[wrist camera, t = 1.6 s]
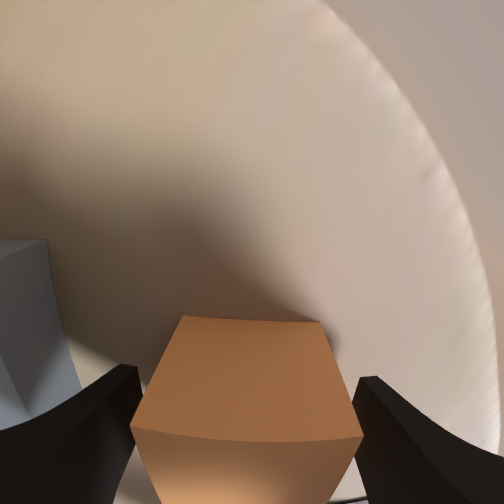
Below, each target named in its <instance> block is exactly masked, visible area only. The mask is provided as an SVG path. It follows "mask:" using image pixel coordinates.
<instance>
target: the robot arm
mask: <svg viewBox="0 0 504 504" xmlns="http://www.w3.org/2000/svg"><path fill="white" fill-rule="evenodd" d="M142 397H143V393H142V388H141V384H140V379H139V374H138V369H137V367H136V366H130V365H125V364H119V365H118V366H116V367H115V368H113V369H112V370H110V371H109V372H107V373H106V374H105V375H103V376H102V377H100V378H99V379H98V380H96V381H95V382H93V383H92V384H90V385H89V386H87V387H86V388H85V389H83V390H82V391H80V392H79V393H77V394H76V395H74V396H73V397H71V398H69V399H68V400H66V401H64V402H63V403H61V404H59V405H58V406H56V407H54V408H53V409H51V410H49V411H47V412H45V413H43V414H41V415H39V416H37V417H35V418H33V419H30V420H28V421H26V422H23V423H21V424H18V425H15V426H12V427H9V428H6V429H3V430H0V504H113V501H114V497H115V494H116V490H117V487H118V485H119V482H120V479H121V477H122V475H123V472H124V470H125V468H126V465H127V463H128V461H129V458H130V456H131V454H132V451H133V449H134V447H135V444H136V442H135V439H134V437H133V434H132V431H131V428H130V423H131V421H132V419H133V417H134V415H135V412H136V410H137V408H138V406H139V404H140V402H141V400H142ZM352 405H353V408H354V410H355V413H356V416H357V418H358V421H359V424H360V427H361V429H362V432H363V435H364V437H363V439H362V441H361V443H360V445H359V447H358V449H357V451H356V453H355V455H354V457H355V460H356V463H357V466H358V469H359V472H360V475H361V479H362V482H363V485H364V488H365V491H366V495H367V499H368V500H364V501H359V502H353V503H347V504H504V457H502V456H499V455H495V454H493V453H490V452H488V451H485V450H483V449H480V448H478V447H476V446H474V445H472V444H470V443H468V442H466V441H464V440H462V439H460V438H458V437H457V436H455V435H453V434H451V433H450V432H448V431H447V430H445V429H444V428H442V427H441V426H439V425H438V424H436V423H435V422H433V421H432V420H431V419H429V418H428V417H427V416H425V415H424V414H423V413H421V412H420V411H419V410H418V409H416V408H415V407H414V406H413V405H411V404H410V403H409V402H408V401H406V400H405V399H404V398H403V397H402V396H401V395H399V394H398V393H397V392H396V391H395V390H393V389H392V388H391V387H390V386H389V385H388V384H386V383H385V382H384V381H383V380H381V379H380V378H379V377H378V376H369V377H360V379H359V382H358V385H357V388H356V391H355V395H354V398H353V400H352Z"/></svg>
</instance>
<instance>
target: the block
mask: <svg viewBox="0 0 504 504" xmlns="http://www.w3.org/2000/svg"><path fill="white" fill-rule="evenodd" d="M130 428H131V431H132V434H133V437H134V439H135V442H136V445H137V447H138V450H139V453H140V455H141V458H142V460H143V463H144V465H145V468H146V470H147V472H148V475H149V477H150V479H151V482H152V484H153V486H154V488H155V490H156V492H157V495H158V497H159V499H160V501H161V503H162V504H327V503H328V501H329V499H330V498H331V496H332V495H333V493H334V491H335V490H336V488H337V486H338V485H339V483H340V481H341V479H342V478H343V476H344V474H345V472H346V470H347V468H348V467H349V465H350V463H351V461H352V459H353V457H354V455H355V453H356V451H357V449H358V447H359V445H360V443H361V441H362V439H363V437H364V435H363V432H362V429H361V427H360V424H359V421H358V418H357V416H356V413H355V410H354V408H353V405H352V402H351V400H350V397H349V394H348V392H347V389H346V386H345V384H344V381H343V379H342V376H341V373H340V371H339V368H338V366H337V363H336V361H335V358H334V356H333V353H332V351H331V348H330V346H329V343H328V341H327V338H326V336H325V333H324V331H323V328H322V326H321V323H320V322H286V321H258V320H238V319H222V318H208V317H195V316H182V318H181V320H180V322H179V324H178V326H177V328H176V330H175V332H174V334H173V336H172V338H171V340H170V342H169V344H168V346H167V348H166V350H165V352H164V354H163V356H162V358H161V360H160V362H159V364H158V366H157V368H156V370H155V372H154V374H153V376H152V379H151V381H150V383H149V385H148V387H147V389H146V391H145V393H144V395H143V397H142V400H141V402H140V404H139V406H138V408H137V410H136V412H135V415H134V417H133V419H132V421H131V423H130Z"/></svg>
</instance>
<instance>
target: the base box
mask: <svg viewBox="0 0 504 504" xmlns="http://www.w3.org/2000/svg"><path fill="white" fill-rule="evenodd" d="M80 391H82V387H81V384H80V381H79V379H78V376H77V373H76V370H75V367H74V364H73V361H72V358H71V355H70V351H69V348H68V345H67V341H66V338H65V334H64V330H63V326H62V322H61V318H60V314H59V310H58V306H57V301H56V296H55V291H54V286H53V281H52V275H51V269H50V262H49V255H48V248H47V239H0V430H3V429H6V428H9V427H12V426H15V425H18V424H21V423H23V422H26V421H28V420H30V419H33V418H35V417H37V416H39V415H41V414H43V413H45V412H47V411H49V410H51V409H53V408H54V407H56V406H58V405H59V404H61V403H63V402H64V401H66V400H68V399H69V398H71V397H73V396H74V395H76V394H77V393H79V392H80Z"/></svg>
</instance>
